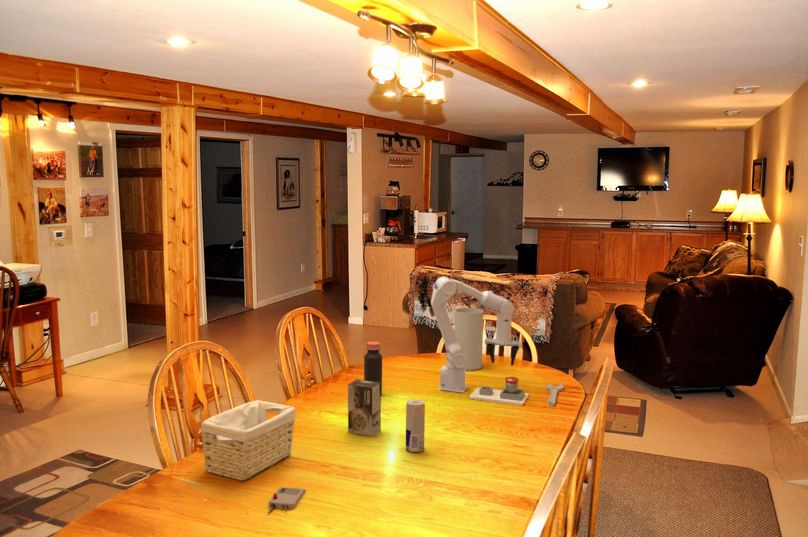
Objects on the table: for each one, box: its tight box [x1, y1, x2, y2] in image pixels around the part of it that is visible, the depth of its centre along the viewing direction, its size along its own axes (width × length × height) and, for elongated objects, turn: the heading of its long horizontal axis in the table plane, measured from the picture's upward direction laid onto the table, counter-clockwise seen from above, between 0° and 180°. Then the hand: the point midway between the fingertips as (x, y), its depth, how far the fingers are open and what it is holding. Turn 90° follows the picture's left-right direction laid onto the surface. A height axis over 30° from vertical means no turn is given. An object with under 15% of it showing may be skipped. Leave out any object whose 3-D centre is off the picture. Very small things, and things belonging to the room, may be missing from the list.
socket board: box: [468, 385, 530, 407], centre depth 258 cm, size 20×12×3 cm, turn 70°
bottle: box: [363, 341, 383, 396], centre depth 258 cm, size 7×7×20 cm
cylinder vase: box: [453, 307, 484, 371], centre depth 298 cm, size 12×12×25 cm
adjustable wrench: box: [545, 383, 565, 407], centre depth 261 cm, size 25×6×2 cm, turn 159°
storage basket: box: [200, 399, 296, 481], centre depth 195 cm, size 24×16×15 cm
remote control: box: [267, 486, 307, 513], centre depth 173 cm, size 7×16×3 cm, turn 172°
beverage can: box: [405, 398, 426, 453], centre depth 206 cm, size 6×6×15 cm
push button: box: [504, 376, 520, 395], centre depth 255 cm, size 5×5×7 cm
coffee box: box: [347, 378, 382, 437], centre depth 221 cm, size 9×6×16 cm
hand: (502, 363), depth 270 cm, fingers open, 7 cm apart
